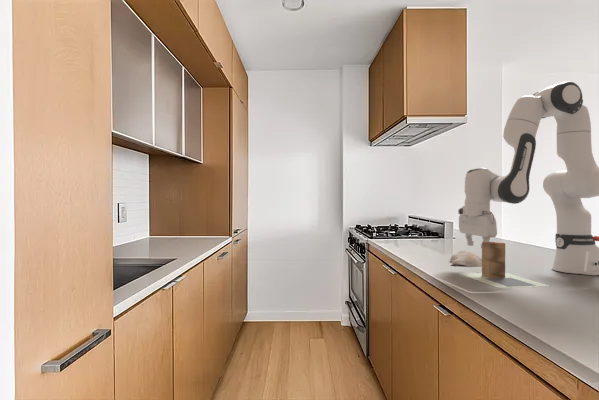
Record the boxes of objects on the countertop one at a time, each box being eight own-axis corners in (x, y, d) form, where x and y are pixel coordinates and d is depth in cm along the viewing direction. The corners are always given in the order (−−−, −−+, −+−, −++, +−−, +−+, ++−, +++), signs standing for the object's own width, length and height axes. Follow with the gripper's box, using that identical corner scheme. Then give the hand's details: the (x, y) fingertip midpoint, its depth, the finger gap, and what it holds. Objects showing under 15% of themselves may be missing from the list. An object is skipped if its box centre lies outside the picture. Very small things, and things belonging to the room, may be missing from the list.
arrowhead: (451, 255, 172) (449, 245, 200) (450, 267, 172) (449, 255, 200) (488, 258, 167) (481, 247, 195) (488, 270, 167) (481, 258, 196)
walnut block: (497, 275, 149) (497, 241, 149) (505, 277, 145) (505, 243, 144) (481, 275, 148) (481, 241, 148) (489, 278, 144) (489, 243, 144)
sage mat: (503, 273, 155) (503, 272, 155) (550, 287, 131) (550, 285, 131) (458, 274, 153) (458, 273, 153) (498, 289, 129) (498, 287, 129)
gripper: (501, 211, 147) (501, 250, 147) (470, 209, 167) (470, 243, 167) (485, 211, 146) (485, 250, 146) (455, 209, 166) (455, 244, 166)
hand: (477, 247), depth 157 cm, fingers open, 8 cm apart
